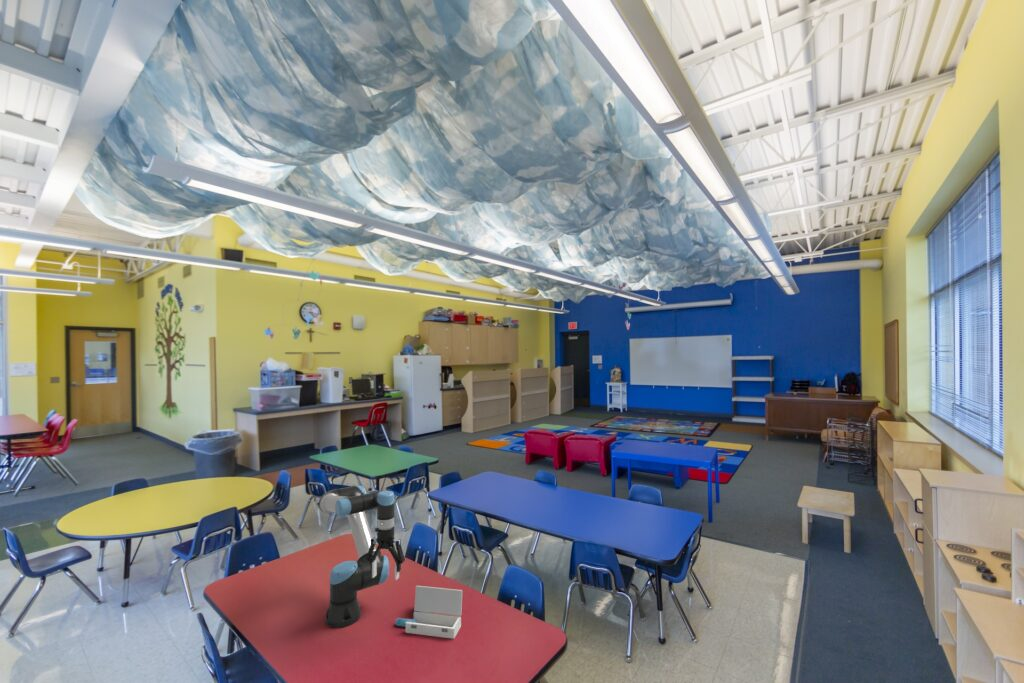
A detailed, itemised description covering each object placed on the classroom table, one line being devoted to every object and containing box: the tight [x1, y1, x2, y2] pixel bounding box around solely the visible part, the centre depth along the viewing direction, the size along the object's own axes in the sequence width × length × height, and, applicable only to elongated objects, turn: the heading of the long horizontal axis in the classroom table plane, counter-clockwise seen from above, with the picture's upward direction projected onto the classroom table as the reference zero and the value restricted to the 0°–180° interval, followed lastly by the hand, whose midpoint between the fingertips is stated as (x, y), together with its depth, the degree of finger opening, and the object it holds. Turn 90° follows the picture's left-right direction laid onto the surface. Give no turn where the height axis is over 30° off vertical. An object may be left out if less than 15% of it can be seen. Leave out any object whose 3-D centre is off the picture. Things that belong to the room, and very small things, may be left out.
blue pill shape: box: [394, 617, 418, 628], centre depth 191 cm, size 10×3×3 cm, turn 78°
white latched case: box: [405, 611, 462, 640], centre depth 188 cm, size 22×10×4 cm, turn 78°
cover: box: [413, 585, 463, 617], centre depth 194 cm, size 22×10×1 cm
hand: (385, 577), depth 194 cm, fingers open, 10 cm apart
